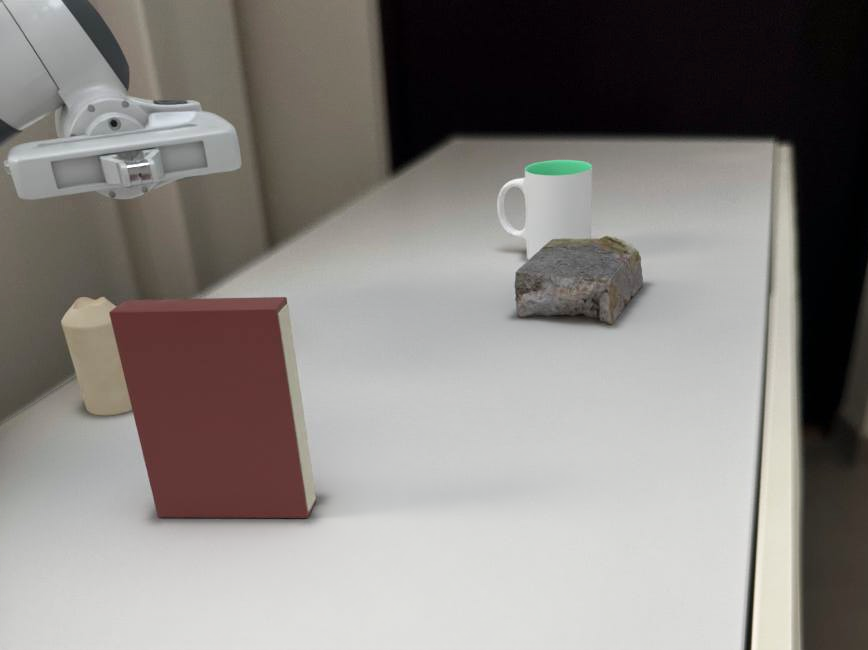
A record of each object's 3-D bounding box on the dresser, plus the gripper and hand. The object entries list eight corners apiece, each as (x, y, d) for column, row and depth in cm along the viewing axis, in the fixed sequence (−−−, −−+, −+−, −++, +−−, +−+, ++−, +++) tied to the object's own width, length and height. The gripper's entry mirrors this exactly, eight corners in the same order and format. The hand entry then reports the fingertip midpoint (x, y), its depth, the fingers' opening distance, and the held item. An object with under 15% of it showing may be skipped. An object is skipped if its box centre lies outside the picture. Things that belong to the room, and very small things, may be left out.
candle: (76, 405, 101) (46, 302, 96) (129, 388, 104) (102, 287, 98) (101, 421, 98) (71, 315, 92) (155, 403, 101) (129, 299, 95)
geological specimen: (510, 274, 111) (555, 227, 122) (515, 330, 115) (557, 280, 125) (608, 278, 107) (645, 229, 118) (610, 335, 111) (645, 283, 122)
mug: (488, 262, 132) (484, 173, 126) (508, 244, 138) (505, 158, 132) (581, 267, 128) (582, 176, 122) (597, 248, 134) (599, 160, 128)
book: (157, 517, 82) (108, 311, 73) (170, 500, 85) (124, 299, 76) (308, 518, 81) (277, 308, 72) (317, 501, 83) (288, 296, 75)
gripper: (-9, 125, 96) (1, 152, 85) (213, 97, 102) (248, 119, 92) (12, 198, 99) (25, 232, 89) (225, 167, 106) (260, 195, 95)
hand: (140, 174), depth 90 cm, fingers closed
